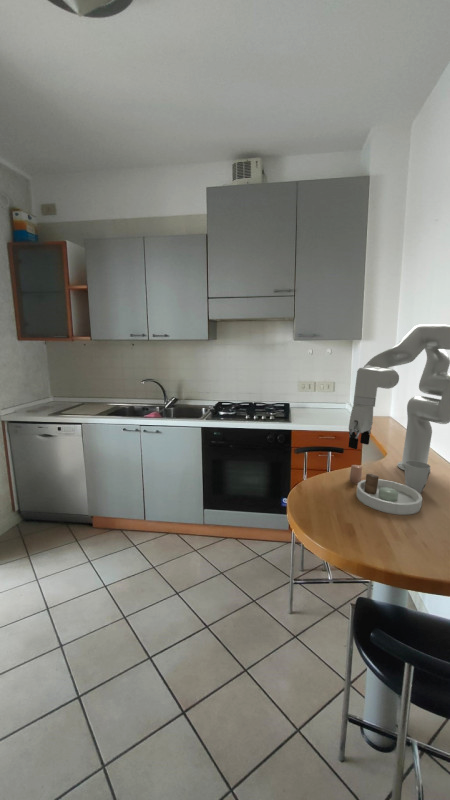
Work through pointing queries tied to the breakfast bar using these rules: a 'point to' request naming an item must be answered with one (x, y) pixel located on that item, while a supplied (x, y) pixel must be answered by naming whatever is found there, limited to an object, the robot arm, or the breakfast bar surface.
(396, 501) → the groove tray
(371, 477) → the walnut bead
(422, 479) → the cup
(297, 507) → the breakfast bar surface
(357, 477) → the pinkish-brown rounded piece
